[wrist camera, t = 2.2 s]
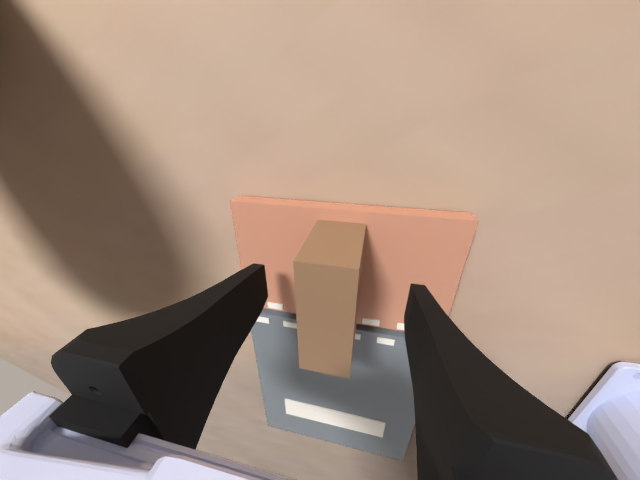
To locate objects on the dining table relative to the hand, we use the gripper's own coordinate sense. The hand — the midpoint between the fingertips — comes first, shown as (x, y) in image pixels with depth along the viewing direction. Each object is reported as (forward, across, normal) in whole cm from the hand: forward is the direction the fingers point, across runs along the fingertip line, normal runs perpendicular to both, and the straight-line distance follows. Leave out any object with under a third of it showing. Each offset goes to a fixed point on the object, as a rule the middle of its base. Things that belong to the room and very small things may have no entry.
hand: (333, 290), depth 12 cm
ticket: (+3, 0, +11) cm, 11 cm away
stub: (+3, 0, 0) cm, 3 cm away
